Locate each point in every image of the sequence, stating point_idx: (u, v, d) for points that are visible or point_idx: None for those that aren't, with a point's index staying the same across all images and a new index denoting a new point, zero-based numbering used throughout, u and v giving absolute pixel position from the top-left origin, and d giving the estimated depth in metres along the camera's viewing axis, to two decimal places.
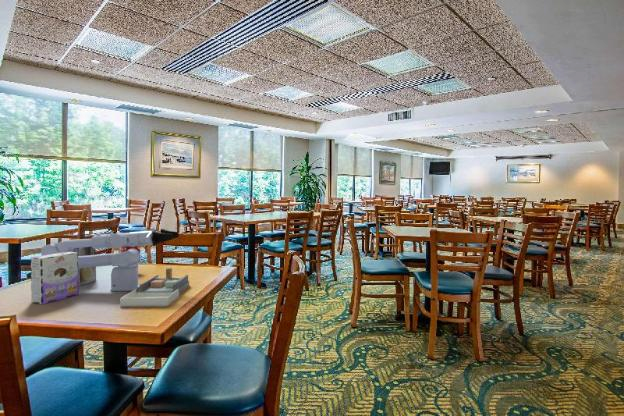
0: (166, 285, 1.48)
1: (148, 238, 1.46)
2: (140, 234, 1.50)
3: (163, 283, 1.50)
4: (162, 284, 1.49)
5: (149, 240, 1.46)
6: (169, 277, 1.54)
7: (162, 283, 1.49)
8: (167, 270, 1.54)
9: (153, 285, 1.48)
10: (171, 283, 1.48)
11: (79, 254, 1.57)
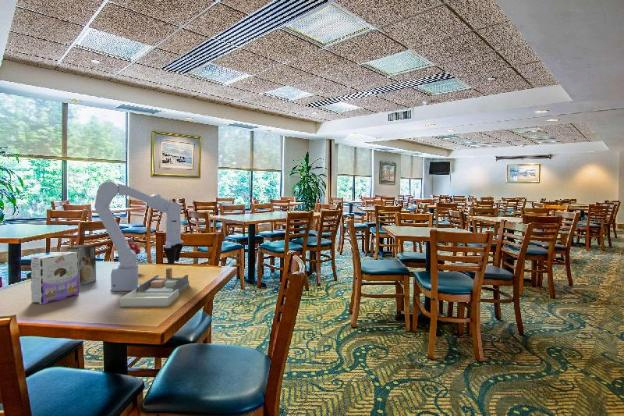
0: (166, 285, 1.48)
1: (168, 246, 1.53)
2: (176, 232, 1.58)
3: (163, 283, 1.50)
4: (162, 284, 1.49)
5: (166, 247, 1.53)
6: (169, 277, 1.54)
7: (162, 283, 1.49)
8: (167, 270, 1.54)
9: (153, 285, 1.48)
10: (171, 283, 1.48)
11: (79, 254, 1.57)
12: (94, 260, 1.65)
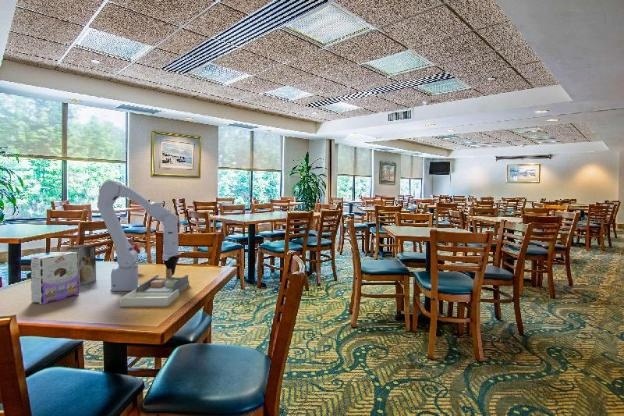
0: (166, 285, 1.48)
1: (165, 258, 1.50)
2: (173, 244, 1.55)
3: (163, 283, 1.50)
4: (162, 284, 1.49)
5: (163, 259, 1.50)
6: (169, 277, 1.54)
7: (162, 283, 1.49)
8: (167, 270, 1.54)
9: (153, 285, 1.48)
10: (171, 283, 1.48)
11: (79, 254, 1.57)
12: (94, 260, 1.65)
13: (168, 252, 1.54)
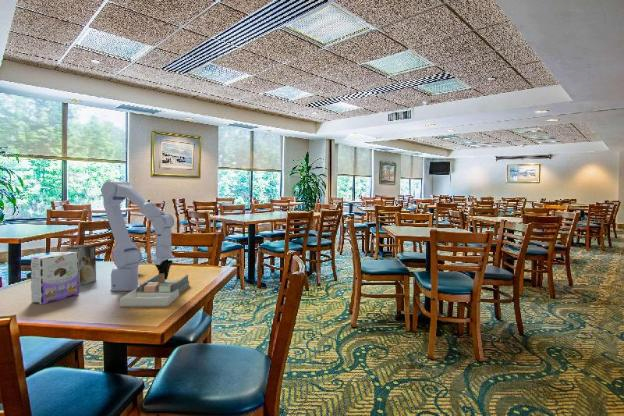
0: (160, 289, 1.42)
1: (158, 262, 1.41)
2: (166, 247, 1.46)
3: (157, 287, 1.44)
4: (156, 288, 1.43)
5: (155, 263, 1.41)
6: (162, 282, 1.45)
7: (156, 287, 1.43)
8: (159, 275, 1.45)
9: (147, 289, 1.41)
10: (165, 287, 1.42)
11: (79, 254, 1.57)
12: (94, 260, 1.65)
13: (161, 256, 1.45)
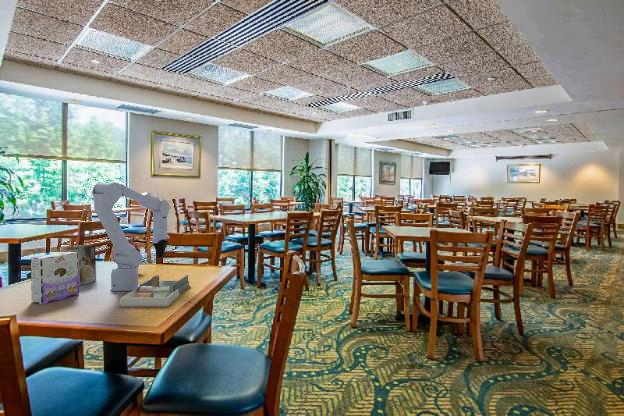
0: (155, 297, 1.36)
1: (155, 241, 1.59)
2: (162, 228, 1.64)
3: (152, 295, 1.39)
4: (151, 296, 1.38)
5: (153, 242, 1.59)
6: (156, 286, 1.39)
7: (151, 295, 1.38)
8: (153, 278, 1.39)
9: (141, 297, 1.36)
10: (160, 295, 1.36)
11: (79, 254, 1.57)
12: (94, 260, 1.65)
13: (157, 236, 1.64)
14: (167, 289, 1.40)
